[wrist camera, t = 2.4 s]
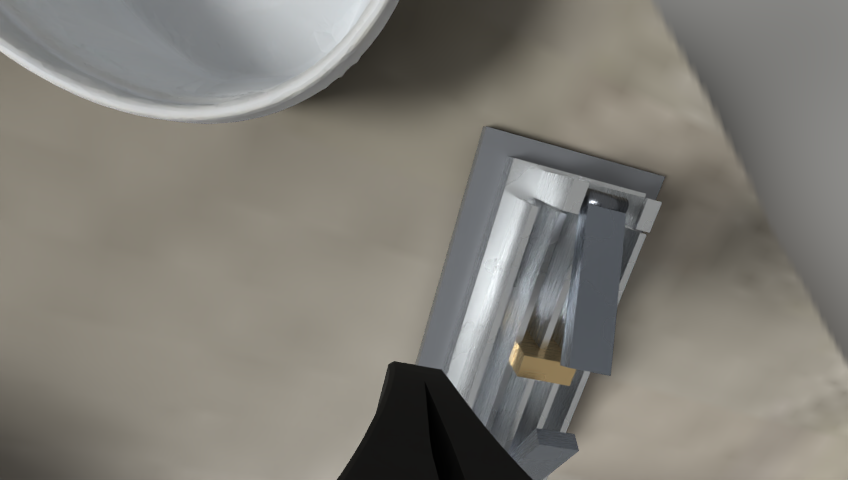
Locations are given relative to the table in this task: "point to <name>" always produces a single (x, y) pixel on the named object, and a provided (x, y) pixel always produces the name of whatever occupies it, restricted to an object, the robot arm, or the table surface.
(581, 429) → the table surface
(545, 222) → the grey slide rail
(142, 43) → the ramekin
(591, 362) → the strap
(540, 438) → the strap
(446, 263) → the slate board
